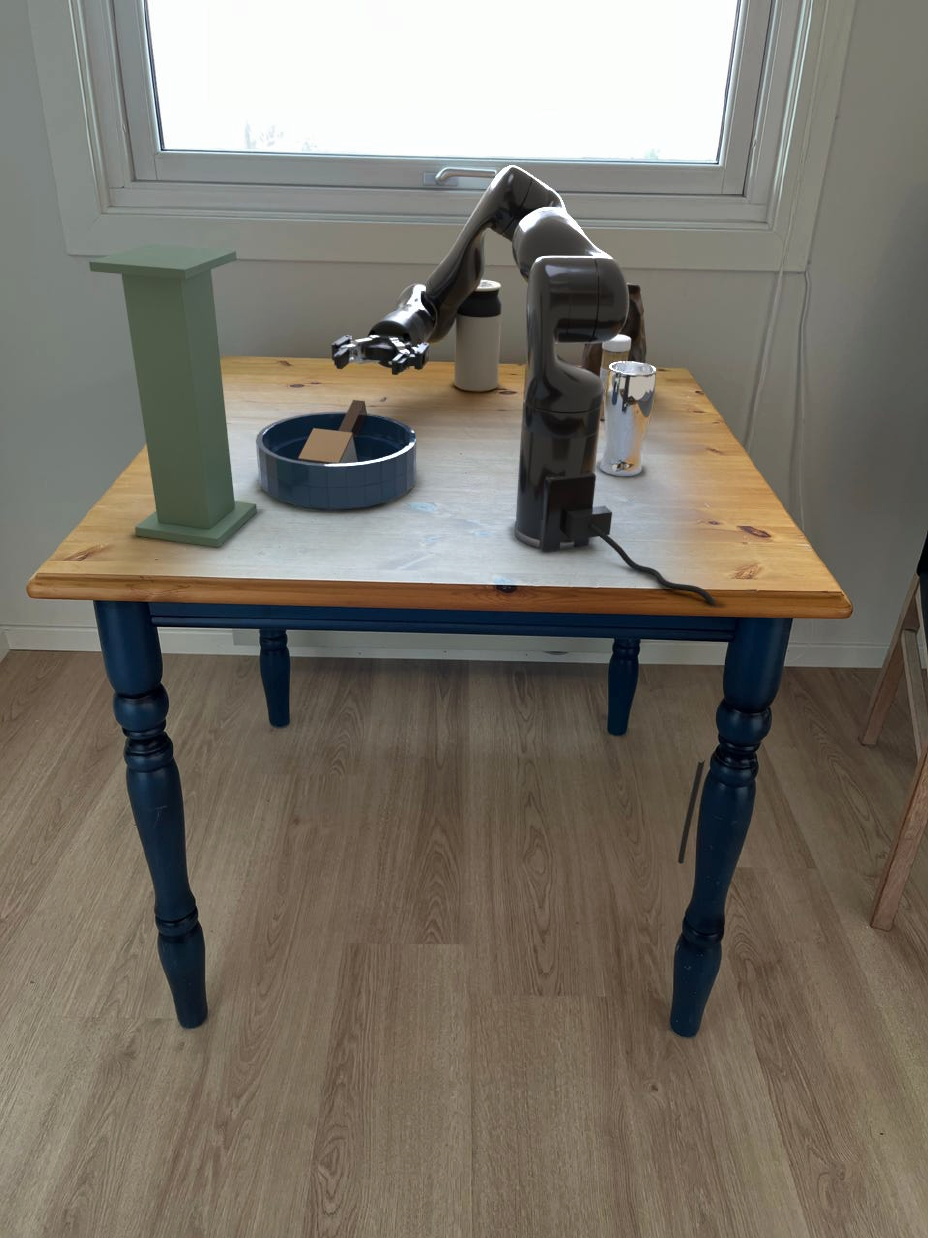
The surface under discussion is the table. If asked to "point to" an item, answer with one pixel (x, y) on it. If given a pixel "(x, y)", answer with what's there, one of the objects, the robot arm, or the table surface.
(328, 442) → the mallet with brown handle
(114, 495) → the table surface
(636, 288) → the owl
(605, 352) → the sprinkles bottle
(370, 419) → the bowl
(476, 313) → the travel mug
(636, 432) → the beer glass
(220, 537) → the stand
